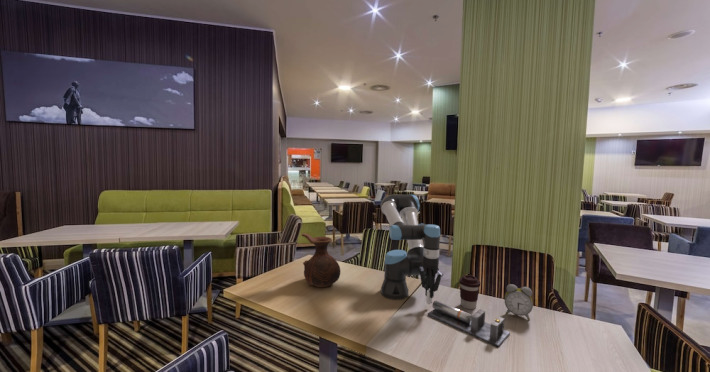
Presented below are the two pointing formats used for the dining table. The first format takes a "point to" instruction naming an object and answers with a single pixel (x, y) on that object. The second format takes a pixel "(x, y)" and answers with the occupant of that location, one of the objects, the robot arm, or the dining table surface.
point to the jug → (321, 264)
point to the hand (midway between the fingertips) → (429, 303)
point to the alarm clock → (518, 300)
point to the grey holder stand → (476, 326)
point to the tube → (452, 311)
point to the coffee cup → (469, 291)
